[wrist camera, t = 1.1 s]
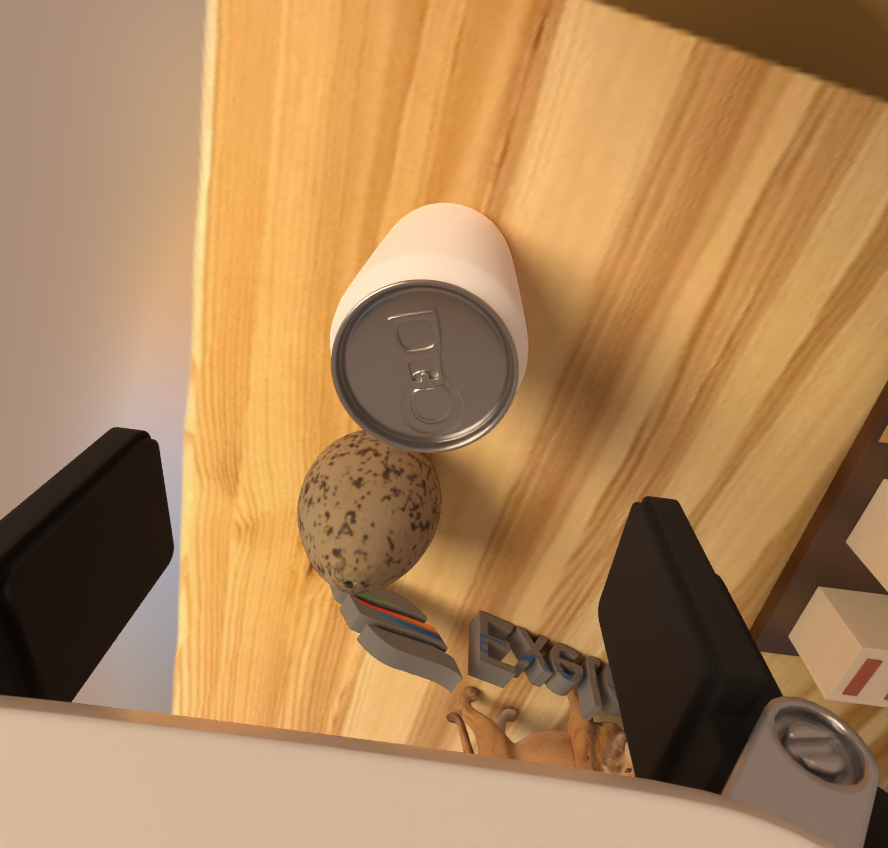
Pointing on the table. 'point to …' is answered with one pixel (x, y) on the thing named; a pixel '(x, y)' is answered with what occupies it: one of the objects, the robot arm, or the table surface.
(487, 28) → the table surface
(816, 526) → the word board
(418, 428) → the can
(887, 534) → the plus sign block
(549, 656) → the extruded letter logo
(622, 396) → the table surface
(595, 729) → the lion figurine
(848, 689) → the equals sign block
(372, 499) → the decorative egg
